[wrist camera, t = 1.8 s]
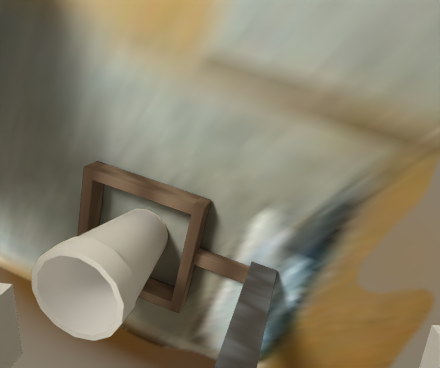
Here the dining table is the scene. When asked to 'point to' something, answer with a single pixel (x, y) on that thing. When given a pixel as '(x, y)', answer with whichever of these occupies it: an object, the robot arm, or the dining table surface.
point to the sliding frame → (190, 260)
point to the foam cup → (99, 274)
